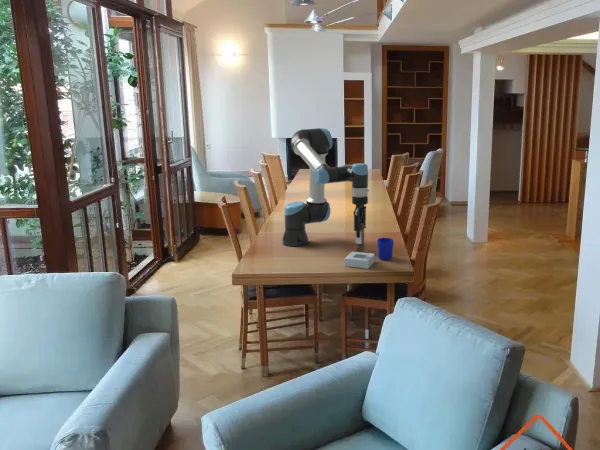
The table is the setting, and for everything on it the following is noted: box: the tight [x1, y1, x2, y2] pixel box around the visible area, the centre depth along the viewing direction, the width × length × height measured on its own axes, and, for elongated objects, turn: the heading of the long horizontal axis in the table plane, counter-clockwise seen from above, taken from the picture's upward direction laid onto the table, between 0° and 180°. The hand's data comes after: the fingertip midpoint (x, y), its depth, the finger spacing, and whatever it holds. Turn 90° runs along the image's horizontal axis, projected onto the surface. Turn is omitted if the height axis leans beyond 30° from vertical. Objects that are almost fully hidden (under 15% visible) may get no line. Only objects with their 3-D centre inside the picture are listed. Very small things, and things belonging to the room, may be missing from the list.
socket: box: [344, 251, 376, 270], centre depth 257 cm, size 12×12×4 cm
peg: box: [355, 223, 365, 253], centre depth 254 cm, size 4×4×14 cm
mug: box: [377, 237, 395, 261], centre depth 266 cm, size 8×12×10 cm
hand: (360, 242), depth 255 cm, fingers closed on peg, 4 cm apart
